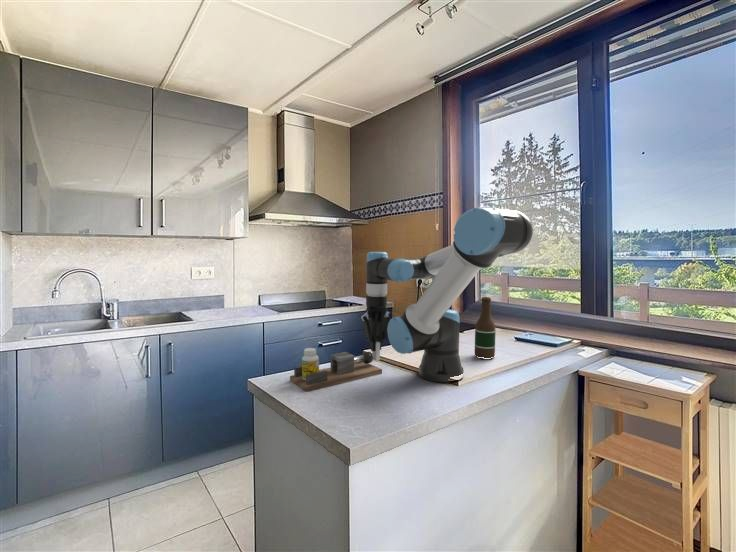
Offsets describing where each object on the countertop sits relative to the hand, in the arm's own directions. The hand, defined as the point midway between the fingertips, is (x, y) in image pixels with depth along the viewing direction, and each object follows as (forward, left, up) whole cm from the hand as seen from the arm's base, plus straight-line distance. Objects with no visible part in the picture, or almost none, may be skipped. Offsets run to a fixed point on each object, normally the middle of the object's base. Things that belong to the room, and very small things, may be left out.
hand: (375, 359), depth 141 cm
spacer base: (0, +17, -3) cm, 17 cm away
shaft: (0, +10, -1) cm, 10 cm away
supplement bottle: (0, +27, -2) cm, 27 cm away
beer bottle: (-14, -43, -3) cm, 46 cm away
